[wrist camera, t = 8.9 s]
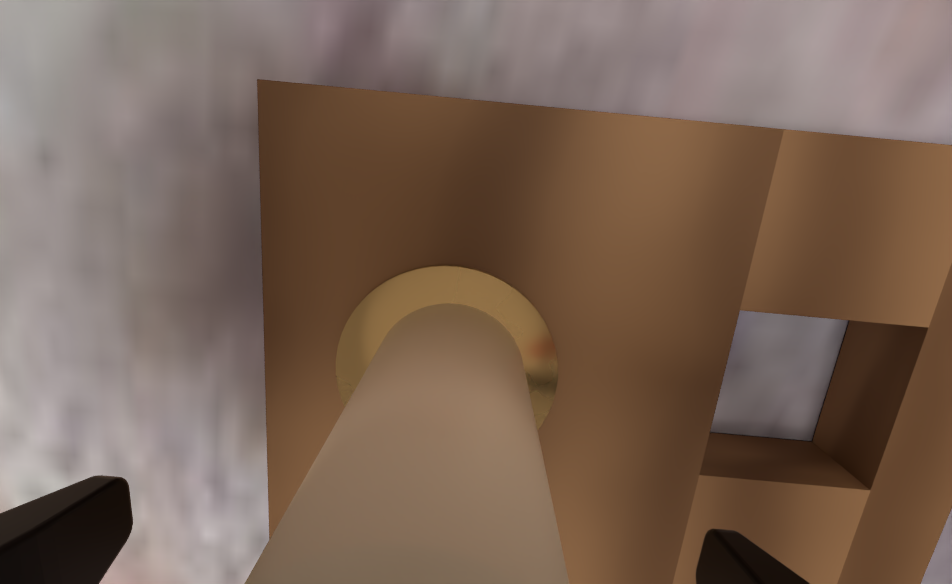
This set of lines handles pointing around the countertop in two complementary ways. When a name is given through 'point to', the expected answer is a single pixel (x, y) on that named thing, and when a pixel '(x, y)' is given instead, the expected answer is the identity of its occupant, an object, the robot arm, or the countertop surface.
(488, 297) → the brass disc
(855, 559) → the walnut holder
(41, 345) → the countertop surface
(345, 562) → the ivory candle
